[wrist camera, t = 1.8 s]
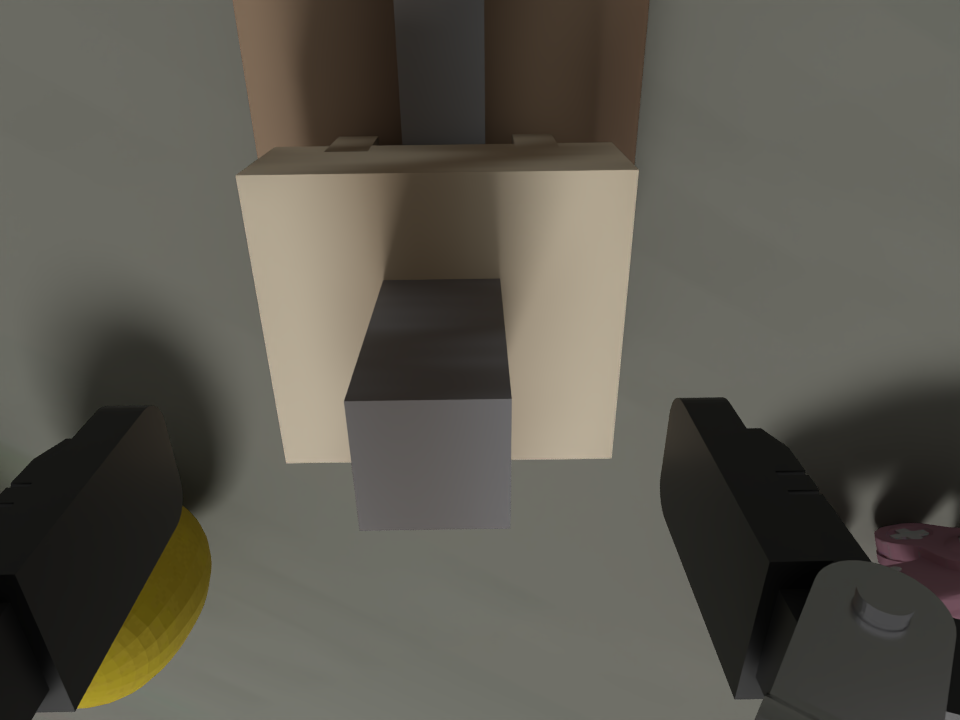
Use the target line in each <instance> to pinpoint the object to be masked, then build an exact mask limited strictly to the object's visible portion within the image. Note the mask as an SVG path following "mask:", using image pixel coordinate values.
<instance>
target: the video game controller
mask: <svg viewBox="0 0 960 720" xmlns="http://www.w3.org/2000/svg"><path fill="white" fill-rule="evenodd" d="M874 534H875V541H876V547H877V550H876V551H877V557H878V563H879V564H881V565H884V566H887V567H890V568H893V569H895V570H897V571H900V572H902V573H904V574H906V575H908V576H910V577H912V578H913V579H915V580H917V581H918V582H920V583H921V584H923V585H924V586H926V587H927V588H928V589H929V590H930V591H932V592H933V593H934V594H935V595H936V596H937V597H938V598H939V599H940V600H941V601H942V602H943V603H944V605H945V606H946V607H947V609H948V610H949V611H950V613H951V615H952V617H953V618H956V619H960V528H951V527H943V526H936V525H929V524H923V523H902V524H896V525H891V526H885V527H881V528H879V529H878V530H876V531H875V533H874Z"/></svg>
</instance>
